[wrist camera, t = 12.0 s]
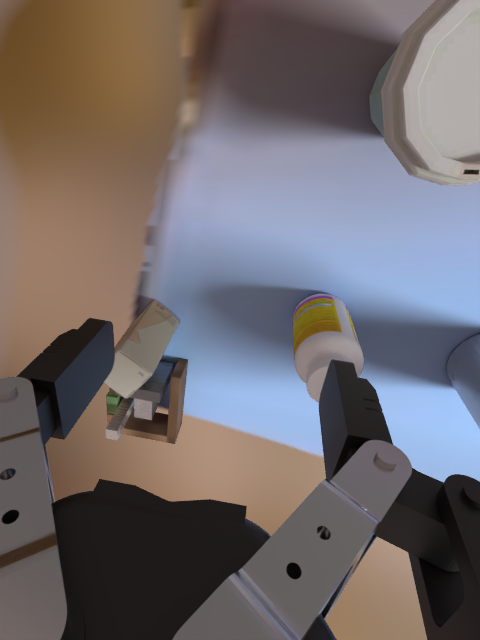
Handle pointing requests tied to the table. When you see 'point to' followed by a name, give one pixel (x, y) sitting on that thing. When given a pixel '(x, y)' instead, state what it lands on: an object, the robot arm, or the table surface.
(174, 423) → the brown wooden open box
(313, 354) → the supplement bottle
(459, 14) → the disposable coffee cup
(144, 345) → the box
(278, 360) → the table surface
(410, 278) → the table surface
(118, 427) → the grey blocky piece
